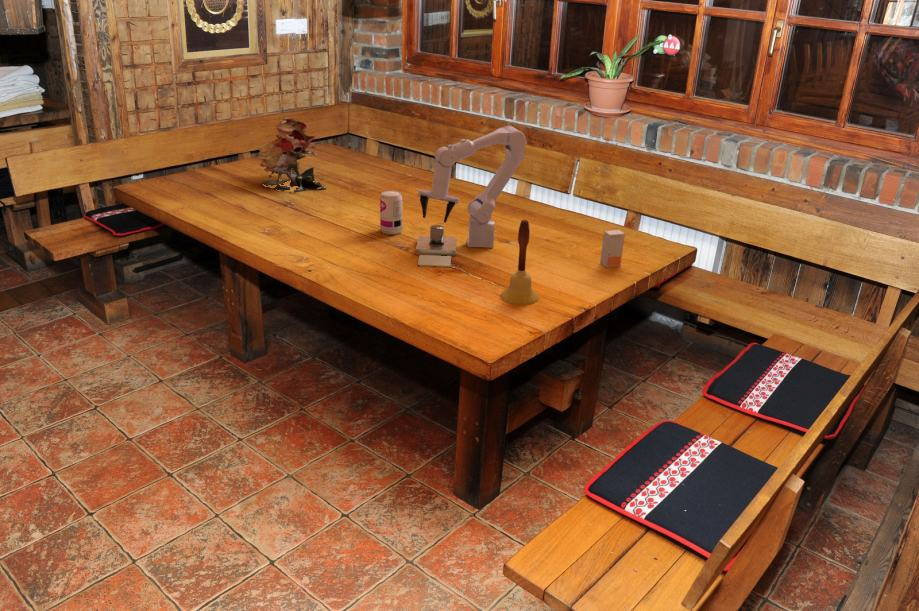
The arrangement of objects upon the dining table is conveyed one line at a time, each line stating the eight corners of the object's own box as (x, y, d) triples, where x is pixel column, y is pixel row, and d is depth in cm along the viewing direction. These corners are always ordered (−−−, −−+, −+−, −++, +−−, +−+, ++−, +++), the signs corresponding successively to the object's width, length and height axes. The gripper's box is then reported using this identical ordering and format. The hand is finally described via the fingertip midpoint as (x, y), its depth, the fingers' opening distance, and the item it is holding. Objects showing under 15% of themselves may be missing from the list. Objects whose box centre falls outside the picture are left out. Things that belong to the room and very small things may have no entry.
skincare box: (605, 267, 265) (609, 234, 260) (599, 263, 269) (603, 230, 264) (621, 266, 267) (625, 233, 262) (615, 261, 271) (619, 229, 266)
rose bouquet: (300, 173, 361) (296, 109, 348) (332, 188, 341) (329, 120, 328) (249, 182, 346) (243, 114, 333) (279, 198, 326) (274, 127, 313)
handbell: (534, 288, 248) (539, 213, 237) (543, 304, 237) (550, 227, 226) (496, 289, 246) (500, 214, 235) (504, 306, 235) (508, 228, 224)
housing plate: (456, 242, 284) (456, 237, 283) (455, 256, 271) (455, 250, 270) (418, 240, 284) (418, 235, 283) (415, 254, 271) (415, 249, 271)
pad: (451, 257, 270) (451, 256, 270) (450, 267, 262) (450, 265, 262) (419, 256, 270) (419, 254, 270) (417, 265, 262) (417, 264, 262)
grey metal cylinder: (443, 246, 280) (444, 225, 276) (443, 250, 275) (443, 229, 272) (430, 245, 280) (430, 224, 276) (429, 250, 276) (429, 229, 272)
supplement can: (382, 236, 288) (382, 197, 281) (378, 228, 295) (378, 190, 289) (404, 234, 290) (404, 196, 283) (399, 227, 297) (399, 189, 291)
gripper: (418, 180, 265) (412, 217, 270) (459, 188, 264) (452, 226, 269) (422, 176, 272) (416, 213, 277) (462, 184, 271) (455, 221, 276)
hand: (434, 219), depth 273 cm, fingers open, 7 cm apart
